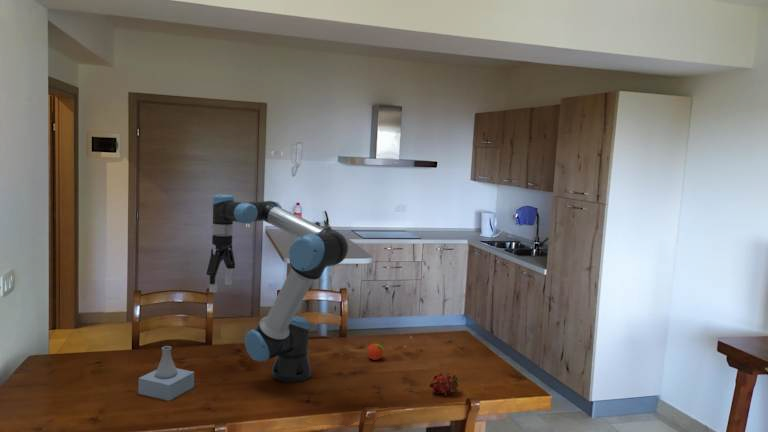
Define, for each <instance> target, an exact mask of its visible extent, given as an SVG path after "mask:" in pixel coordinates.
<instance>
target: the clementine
mask: <svg viewBox="0 0 768 432" xmlns="http://www.w3.org/2000/svg"><path fill="white" fill-rule="evenodd" d="M366 350H367V351H366V354H367V357H368V358H369V359H371V360H373V361H376V360H379V359H381V358H382V356H383V354H384V352H385V350H384V348H383V346H382V345H380V344H379V343H371V344H370V345H368V346H367V349H366Z"/></svg>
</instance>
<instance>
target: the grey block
mask: <svg viewBox="0 0 768 432" xmlns="http://www.w3.org/2000/svg"><path fill="white" fill-rule="evenodd" d="M176 370H177V372H178V373H177V374H176V375H175V376H173V377H170V378H159V377H156V376H155V374H156V371H157V369H154V370H152V371H150V372H148V373H146V374H144V375H142V376H140V377H138V383H137V384H138V385H137V386H138V388H137V389H138V391H137V393H138V395H141V396H142V395H143V396H146V397H150V398H155V399H159V400H163V401H167V402H170V401H171V400H173V399H175V398H177V397H178V396H181V395H182V394H184V393H186V392H188V391H189V390H191V389H193V388H195V371H192V370H191V371H190V370H187V369H183V368H179V367H178V368H177V367H176Z"/></svg>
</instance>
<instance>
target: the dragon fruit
mask: <svg viewBox="0 0 768 432" xmlns="http://www.w3.org/2000/svg"><path fill="white" fill-rule="evenodd" d="M458 383H459V379H458V378H457V377H456V375H455V374H450V373H449V372H447V371H446V373H444V372H440V373H438V374H437V375H434V376H433V378H432V381H431V382H430V384H429V388H430V389H431V388H432V390H431V391H432V393H434V394H438V395H440V394H444V396H448V395H449V394H452V393H454V392H455V391H457V390H458V386H459V384H458Z"/></svg>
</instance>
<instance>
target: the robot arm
mask: <svg viewBox="0 0 768 432" xmlns="http://www.w3.org/2000/svg"><path fill="white" fill-rule="evenodd" d="M234 222H236V223H240V224H252V223H253V222H265V223H267V224H270V225H271V226H274V227H276V228H277V229H279V230H282V231H284V232H285V233H288V234H290V235H291V236H293V237H295V239H294V240H293V241H292V242H291V245H290V246H289V251H288V255H289V257H288V259H289V260H288V261H289V266H290V271H289V273H288V275H287V276H286V279H285V280H284V282H283V284H282V286H281V288H280V290H279V292H278V293H277V296H276V298H275V299H274V301H273V304H272V305H271V308H270V310H269V311H268V313H267V315H266V316H263V317H261V319H260V321H259V322H258V324H257V326H256V328H255V329H250V330H249V331H247V332H246V334H245V336H244V344H245V345H244V346H245V350H246V352H247V354H248V356H249V357H250V358H251V359H252V360H254V361H255V362H263V361H268V360H271V359H273V358H275V359H274V360H275V361H274V363H273V366H272V368H271V377H272V378H273V379H274V380H276V381H280V382H283V383H298V382H299V383H300V382H303V381H306V380H308V379H310V378H311V376H312V367H311V363H310V360H309V357H308V351H309V350H308V349H309V334H310V332H309V331H310V327H309V325H310V324H309V320H308V319H307V318H305V317H303V316H300V315H299V316H298V315H296V314H297V312H298V310H299V308H300V306H301V305H302V303H303V301H304V300H305V297H306V295H307V293H308V291H309V290H310V287H311V286H312V283H314V281H315V280H319V279H320V278H321V276H322V274H323V272H324V271H325V269H326V268H327V267H331V266H336V265H339V264H340V263H343V261H344V260H345V258H346V257H347V255H348V253H349V243H348V240H347V239H346V237H345V236H344V235H343V234H342V233H340V232H338V231H337V230H336V229H332V228H331V227H322V226H320V225H318V224H315V223H314V222H311V221H309V220H307V219H305V218H303V217H301V216H299V215H297V214H295V213H292V212H291V211H288V210H287V209H284V208H283V207H282V205H280V203H279V202H278V201H274V200H273V201H272V200H263V201H242V202H241V201H235V200H234V196H233V195H231V194H216V195H214V196H213V201H212V225H211V228H212V234H213V235H212V236H211V237H212V238H211V244H212V245H214V246H215V248H212V249H211V250H210V257H209V262H208V266H207V270H206V275H207V276H209V285H208V286H209V289H208V292H209V293H215V294H216V293H217V292H218V275H217V273H218V271H219V268H220V266H221V265H220V264H221V262H222V261H223V262H224V264H225V267H226V268H224V285H227V286H232V285H233V269H235V267H236V262H235V256H234V251H233V233H234Z"/></svg>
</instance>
